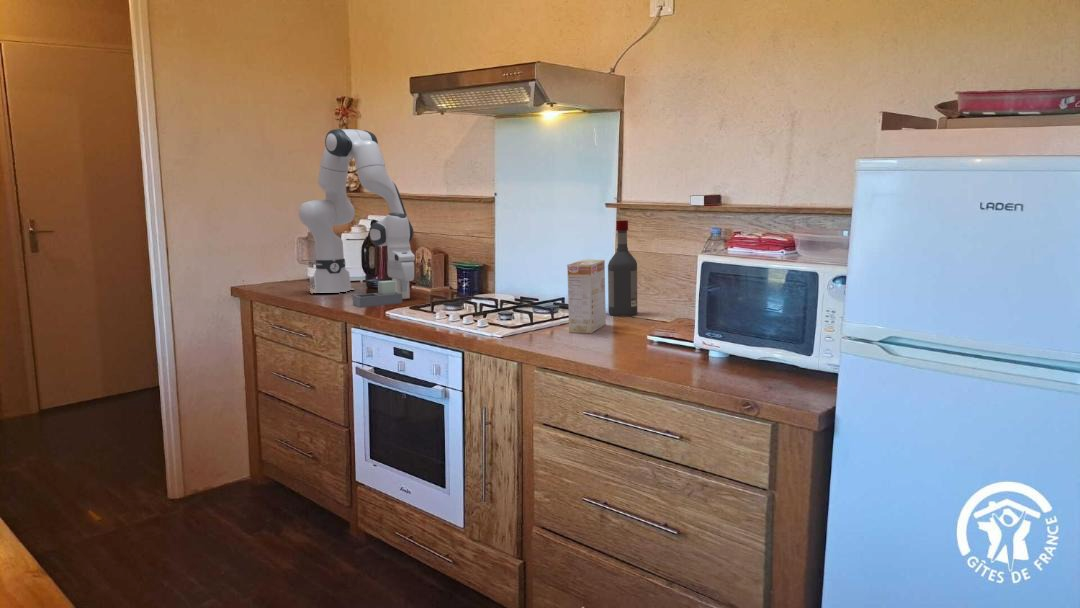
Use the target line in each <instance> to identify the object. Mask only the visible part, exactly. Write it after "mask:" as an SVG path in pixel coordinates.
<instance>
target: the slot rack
mask: <svg viewBox="0 0 1080 608" xmlns="http://www.w3.org/2000/svg"><path fill="white" fill-rule="evenodd" d="M398 304H403V299H402V294H401V293H398V292H396V294H390V295H379V294H378V292H371V293H363V294H352V306H355V307H358V308H368V307H369V308H370V307H377V306H387V305H398Z"/></svg>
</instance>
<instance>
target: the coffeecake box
mask: <svg viewBox="0 0 1080 608" xmlns="http://www.w3.org/2000/svg"><path fill="white" fill-rule="evenodd" d="M605 260H606V259H589V258H588V259H587V258H586V259H581V260H578V261H575V262H571V263H568V264H566V267H567V297H568V304H567V305H568V333H572V334H573V333H575V334H592V333H594V332H595V331H597V330H599V329H601V328H603V327H604V326H606V325H607V321H606V317H607V316H606V271H605V269H606V265H605V263H606V262H605Z"/></svg>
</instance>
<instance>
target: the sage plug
mask: <svg viewBox="0 0 1080 608" xmlns="http://www.w3.org/2000/svg"><path fill="white" fill-rule="evenodd" d="M377 293H378V294H379V295H390V294H396V288H395V281H392V279H391V280H379V281H377Z"/></svg>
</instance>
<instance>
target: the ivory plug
mask: <svg viewBox="0 0 1080 608" xmlns="http://www.w3.org/2000/svg"><path fill="white" fill-rule="evenodd" d="M391 281H395V288H396V292H398V293H401V294H402V300H405V299H410V298H411V297H410V296H411V293H410V292H411V291H410V281H408V284H407V291H406V292H402V291H401V287H402V283H401V280H399V279H396V278H391Z"/></svg>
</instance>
